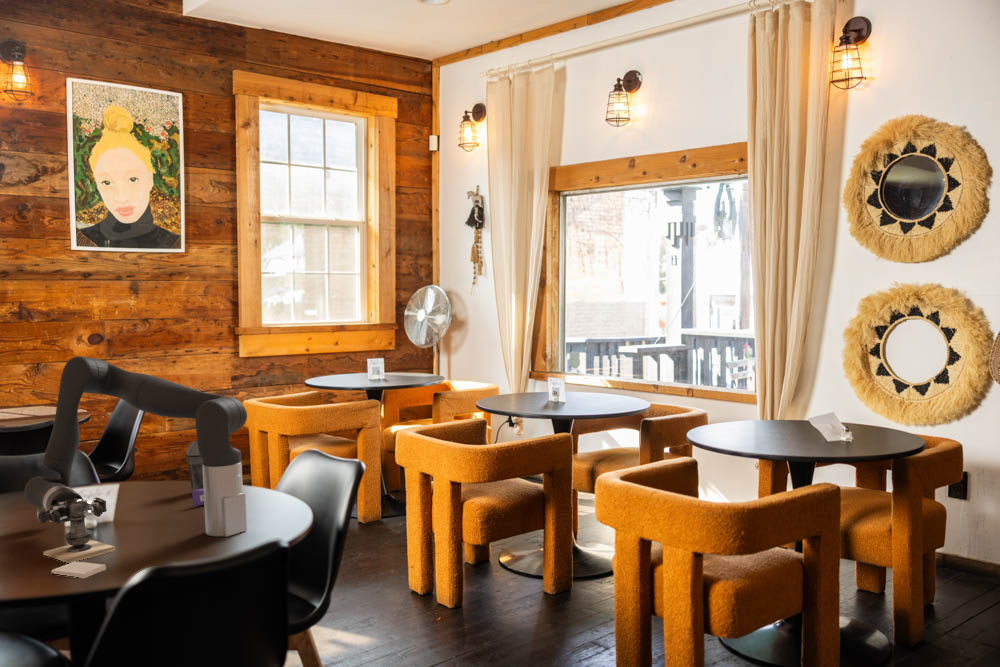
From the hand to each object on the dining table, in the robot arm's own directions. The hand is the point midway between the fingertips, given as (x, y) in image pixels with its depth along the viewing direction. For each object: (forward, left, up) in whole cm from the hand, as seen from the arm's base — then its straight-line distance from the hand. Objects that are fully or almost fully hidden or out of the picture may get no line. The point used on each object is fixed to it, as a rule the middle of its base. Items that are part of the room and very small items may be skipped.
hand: (79, 515), depth 199 cm
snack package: (+15, -45, -10) cm, 49 cm away
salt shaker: (+2, 0, -8) cm, 9 cm away
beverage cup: (+29, -51, -9) cm, 60 cm away
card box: (-11, +7, -10) cm, 16 cm away
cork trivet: (+2, 0, -9) cm, 9 cm away
